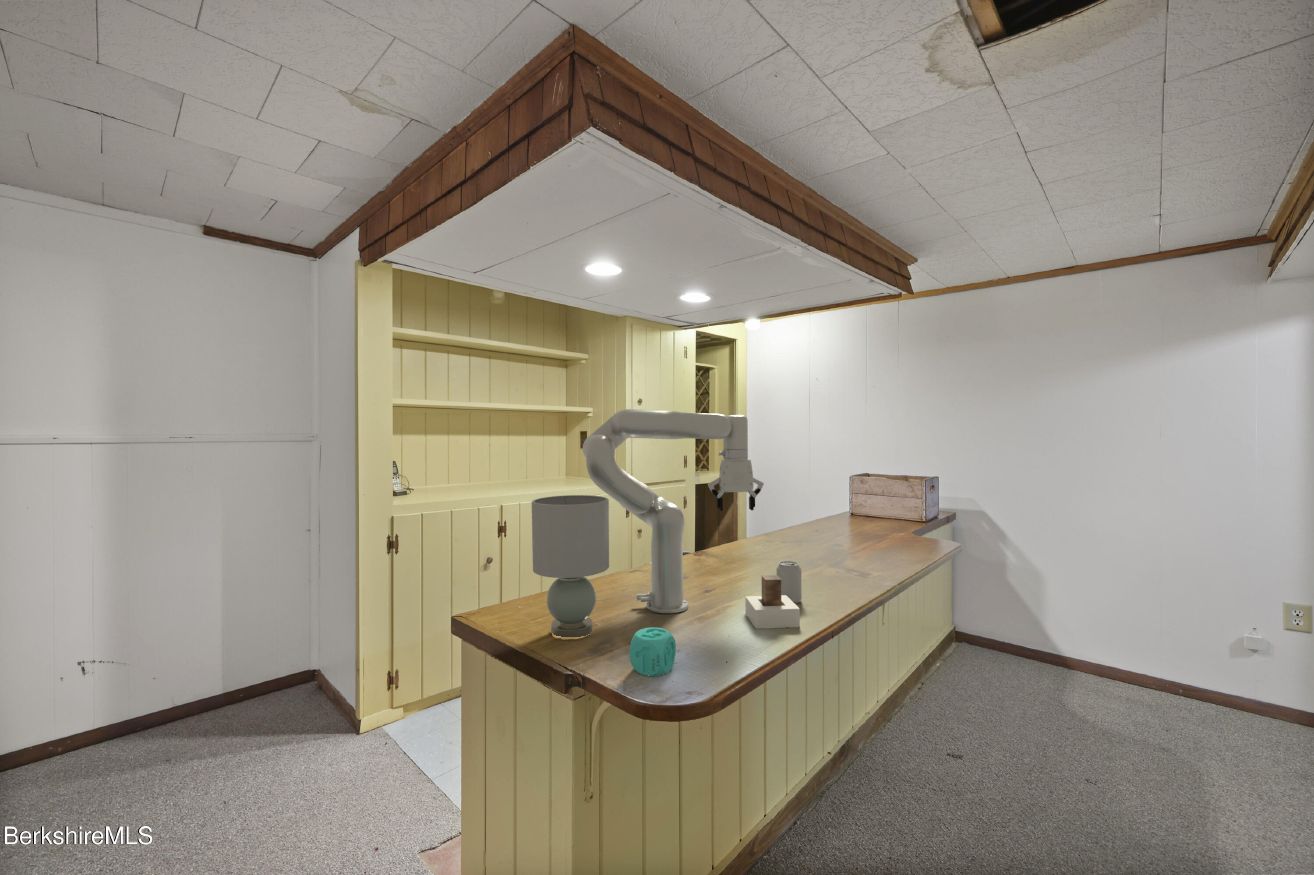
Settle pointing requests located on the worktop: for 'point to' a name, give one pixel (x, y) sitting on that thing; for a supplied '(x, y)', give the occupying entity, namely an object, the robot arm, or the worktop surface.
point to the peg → (771, 590)
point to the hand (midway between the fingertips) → (736, 510)
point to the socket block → (772, 613)
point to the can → (790, 580)
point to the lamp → (570, 556)
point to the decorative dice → (652, 651)
